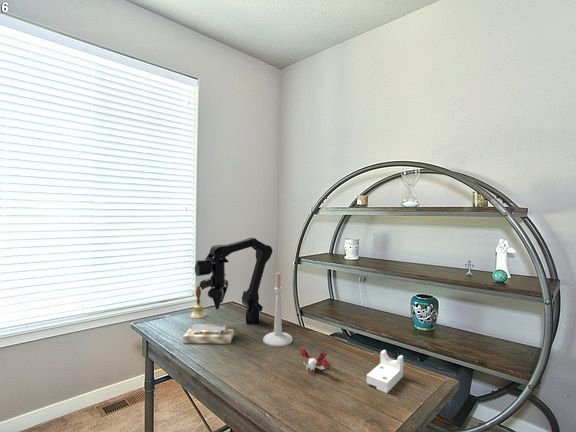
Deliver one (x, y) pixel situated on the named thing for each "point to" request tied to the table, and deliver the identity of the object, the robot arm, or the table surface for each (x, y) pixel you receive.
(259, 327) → the table surface
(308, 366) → the figurine
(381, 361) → the bracket
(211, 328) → the steel clip
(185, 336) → the maple rail
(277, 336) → the candlestick
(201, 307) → the hand bell
